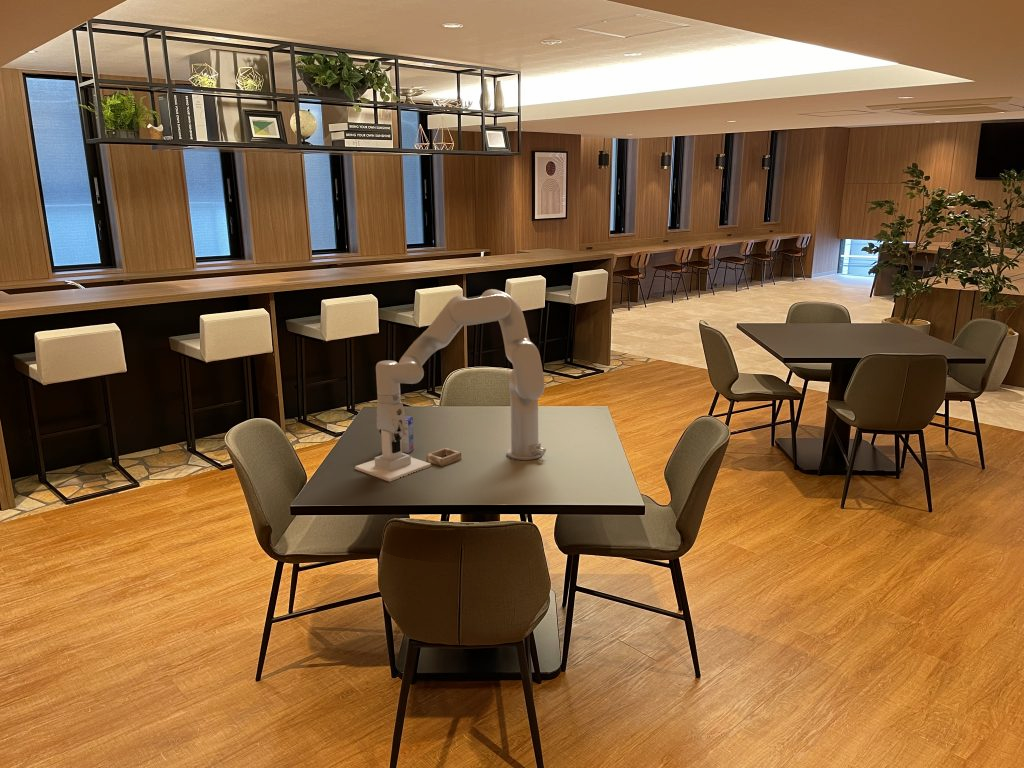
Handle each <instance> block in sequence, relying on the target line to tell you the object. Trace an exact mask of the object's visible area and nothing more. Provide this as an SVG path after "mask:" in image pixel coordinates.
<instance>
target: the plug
mask: <svg viewBox="0 0 1024 768" xmlns="http://www.w3.org/2000/svg"><path fill="white" fill-rule="evenodd" d="M395 436H397V434H395ZM380 438H381V450H382V451H381V453H382V454H381V455H382V456H383V459H385V460H388V461H393V460H395V459H398V458H401V457H402V450H401V451H400V452H397V453H392V442H393V439H392V433H391V432H388V431H385V430H381V433H380ZM400 447H401V440H400Z"/></svg>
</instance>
